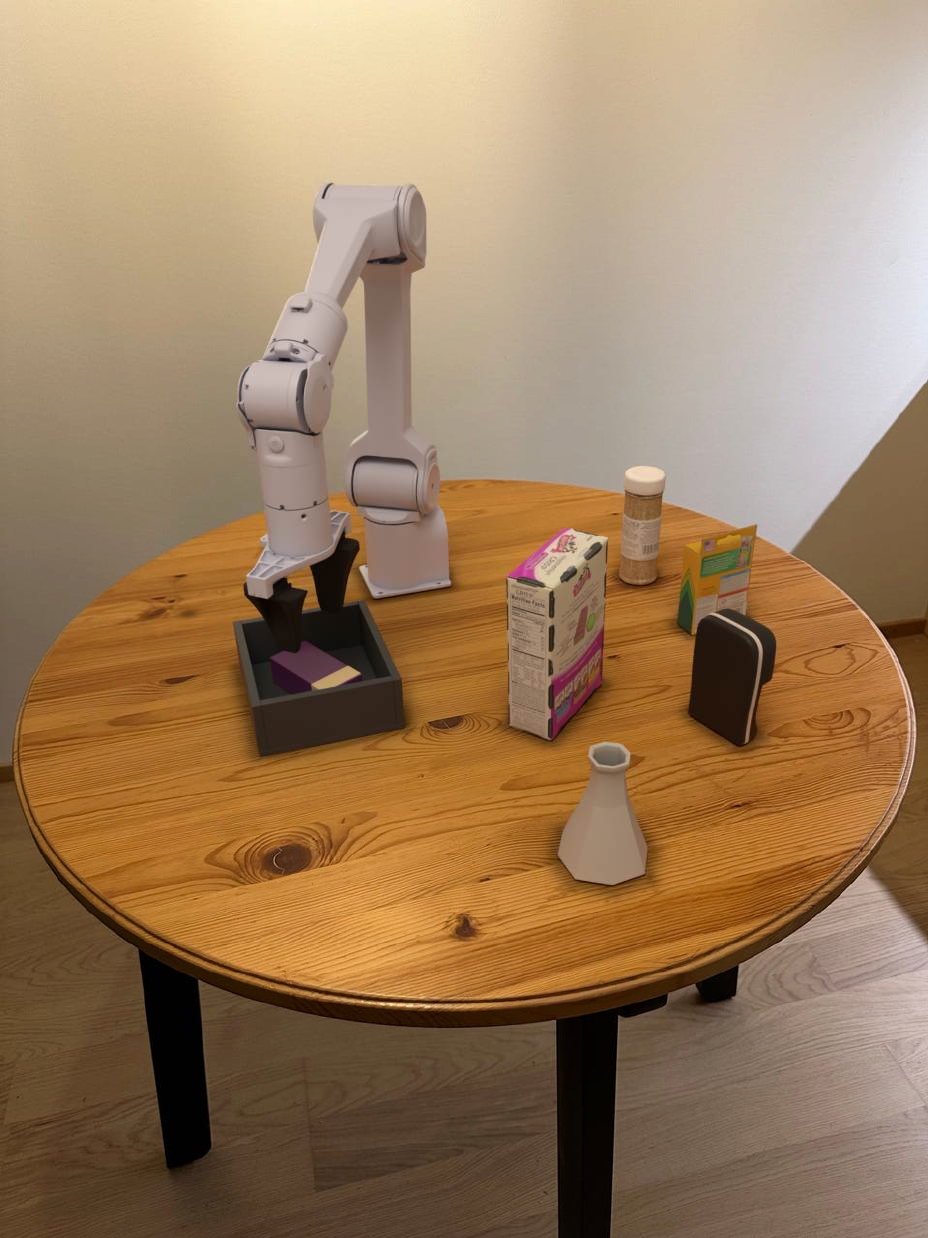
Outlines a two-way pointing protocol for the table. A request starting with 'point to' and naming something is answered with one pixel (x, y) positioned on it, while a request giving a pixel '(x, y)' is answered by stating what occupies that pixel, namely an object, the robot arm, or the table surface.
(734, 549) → the crayon box
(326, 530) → the robot arm
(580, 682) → the candy bar box
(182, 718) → the table surface
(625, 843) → the flask
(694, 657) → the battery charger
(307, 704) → the open storage bin
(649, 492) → the spice jar
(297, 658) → the chocolate bar
